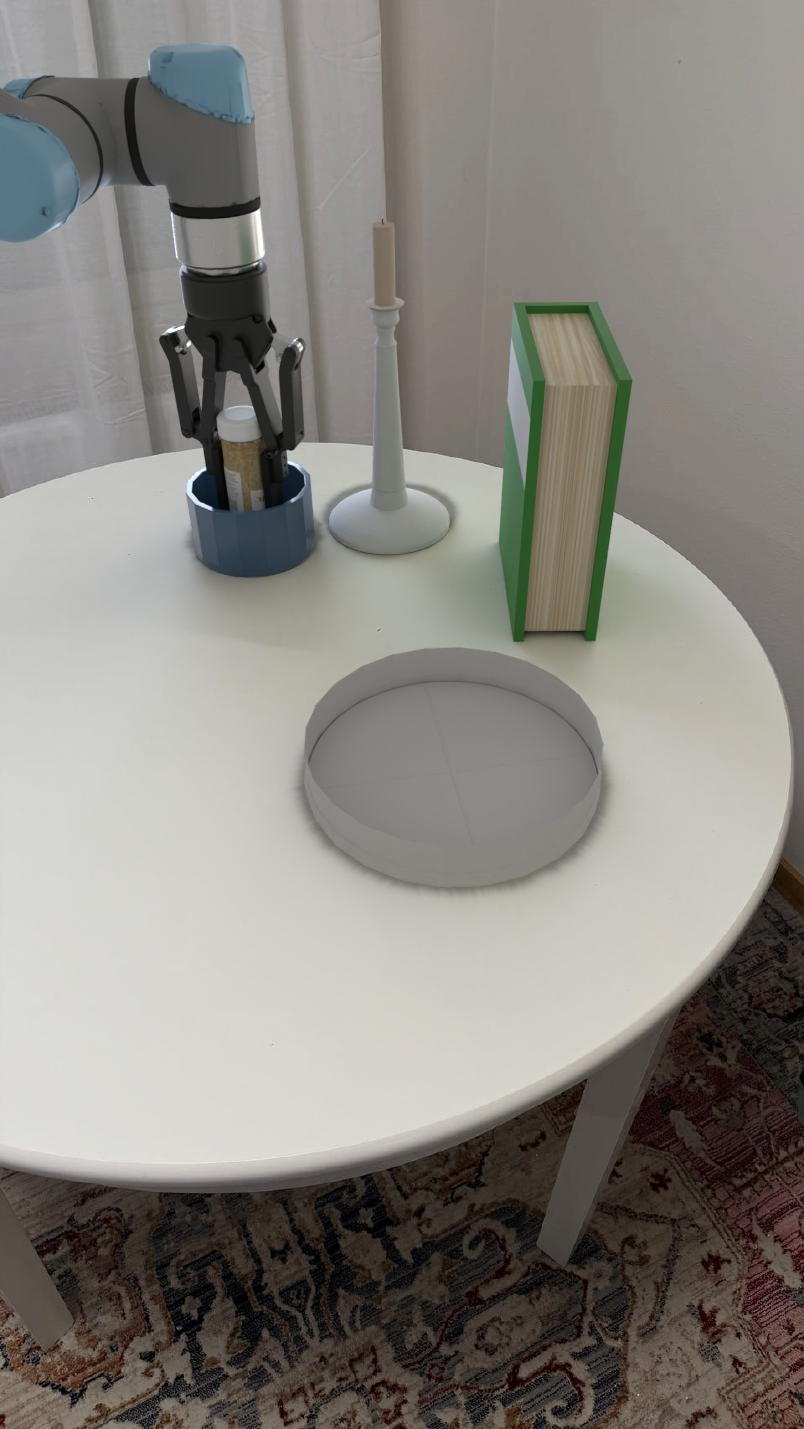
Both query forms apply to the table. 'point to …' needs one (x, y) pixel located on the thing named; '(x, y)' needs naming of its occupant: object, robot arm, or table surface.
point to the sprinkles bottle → (242, 457)
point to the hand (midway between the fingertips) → (251, 506)
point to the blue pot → (252, 528)
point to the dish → (453, 766)
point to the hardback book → (560, 464)
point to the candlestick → (387, 440)
